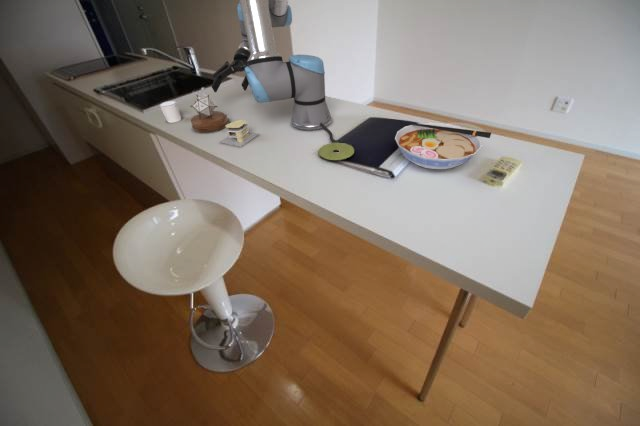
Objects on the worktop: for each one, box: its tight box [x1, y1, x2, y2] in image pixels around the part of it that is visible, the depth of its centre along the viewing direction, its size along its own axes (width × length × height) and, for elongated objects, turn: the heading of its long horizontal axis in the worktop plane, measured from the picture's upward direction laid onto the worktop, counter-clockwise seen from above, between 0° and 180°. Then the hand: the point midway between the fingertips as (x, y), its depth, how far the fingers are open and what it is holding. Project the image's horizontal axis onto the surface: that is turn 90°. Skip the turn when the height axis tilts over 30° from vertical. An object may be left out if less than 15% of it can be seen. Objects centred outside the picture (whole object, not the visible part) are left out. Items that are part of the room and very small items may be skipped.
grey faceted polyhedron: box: [190, 94, 218, 118], centre depth 111 cm, size 9×8×10 cm
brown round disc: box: [190, 110, 230, 134], centre depth 114 cm, size 14×14×4 cm
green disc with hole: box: [317, 142, 355, 161], centre depth 90 cm, size 11×11×2 cm
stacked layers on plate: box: [220, 119, 258, 148], centre depth 103 cm, size 10×9×6 cm
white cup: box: [159, 100, 182, 124], centre depth 120 cm, size 7×7×7 cm
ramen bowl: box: [394, 121, 492, 170], centre depth 82 cm, size 25×23×8 cm
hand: (228, 88), depth 115 cm, fingers open, 13 cm apart
